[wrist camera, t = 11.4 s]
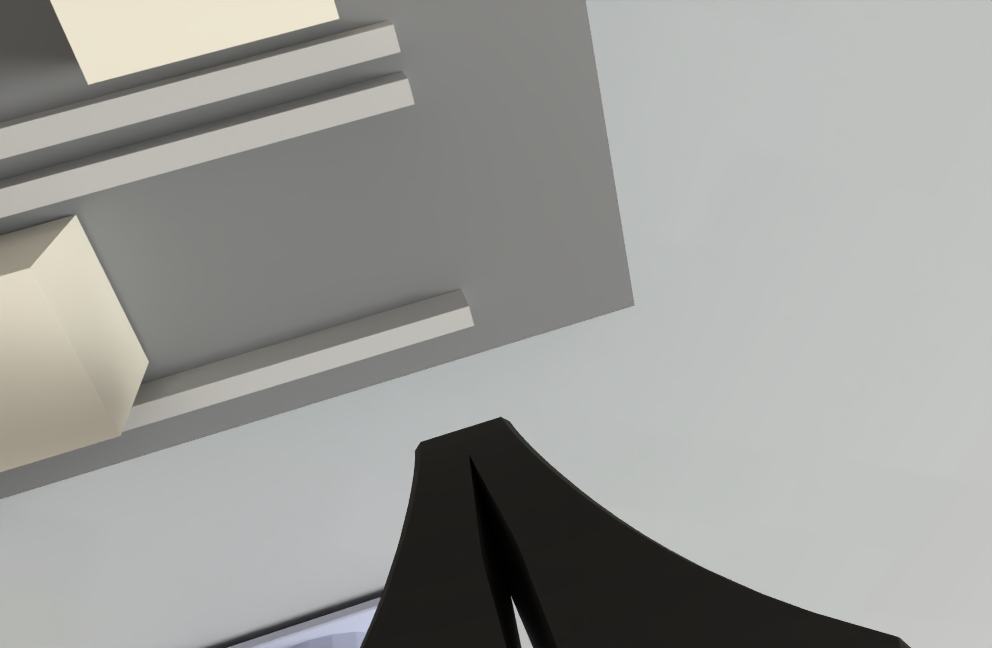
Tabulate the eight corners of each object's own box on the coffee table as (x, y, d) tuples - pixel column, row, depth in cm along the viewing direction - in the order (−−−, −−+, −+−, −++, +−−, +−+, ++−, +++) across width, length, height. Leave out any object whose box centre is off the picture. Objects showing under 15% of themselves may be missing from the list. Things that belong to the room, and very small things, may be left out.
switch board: (607, 275, 21) (649, 322, 19) (-160, 506, 20) (-233, 593, 17) (491, -388, 15) (530, -460, 12) (-658, -133, 13) (-899, -154, 11)
